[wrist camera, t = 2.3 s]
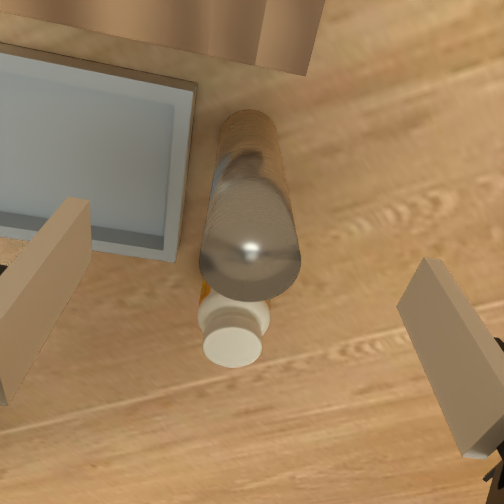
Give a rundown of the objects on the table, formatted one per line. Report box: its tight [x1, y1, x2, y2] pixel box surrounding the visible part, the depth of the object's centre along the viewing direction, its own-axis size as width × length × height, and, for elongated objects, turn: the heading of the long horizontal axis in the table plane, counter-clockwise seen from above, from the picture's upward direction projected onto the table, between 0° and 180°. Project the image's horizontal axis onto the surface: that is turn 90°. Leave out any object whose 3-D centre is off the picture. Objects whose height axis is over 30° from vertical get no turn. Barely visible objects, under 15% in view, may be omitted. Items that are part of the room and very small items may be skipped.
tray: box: [0, 43, 197, 263], centre depth 27 cm, size 18×13×2 cm
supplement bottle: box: [197, 278, 270, 368], centre depth 30 cm, size 5×5×10 cm
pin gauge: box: [199, 110, 301, 302], centre depth 22 cm, size 4×4×15 cm
